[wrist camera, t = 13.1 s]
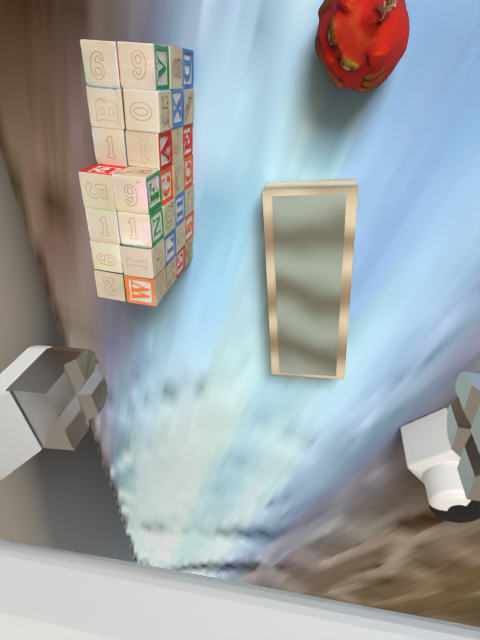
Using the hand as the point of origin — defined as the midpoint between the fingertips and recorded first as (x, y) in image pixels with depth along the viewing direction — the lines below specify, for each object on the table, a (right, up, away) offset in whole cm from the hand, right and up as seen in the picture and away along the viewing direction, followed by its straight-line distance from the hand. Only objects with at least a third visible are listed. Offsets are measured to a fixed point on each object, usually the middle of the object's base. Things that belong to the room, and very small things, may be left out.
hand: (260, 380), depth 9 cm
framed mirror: (+8, +6, +37) cm, 38 cm away
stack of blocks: (-8, +18, +34) cm, 39 cm away
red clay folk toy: (+10, +26, +24) cm, 37 cm away
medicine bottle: (+27, -14, +45) cm, 55 cm away
